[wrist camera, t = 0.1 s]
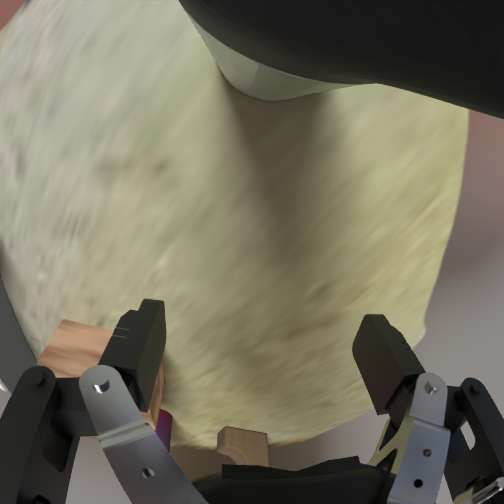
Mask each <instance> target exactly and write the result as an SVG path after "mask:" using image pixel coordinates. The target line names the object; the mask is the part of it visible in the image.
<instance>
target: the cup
mask: <svg viewBox="0 0 504 504" xmlns="http://www.w3.org/2000/svg"><path fill="white" fill-rule="evenodd" d="M171 425H172V416H171V414H169V413H168V412H166V411H164V410H161V409H160V410H159V415H158V420H157V426H156V430H154V431H155V432H156V434H157V435H158V437H159V439H160V440H161V442H162V443H163V445H164V446H165V448H166V449H167V450H168V452H169V453H170V439H171Z"/></svg>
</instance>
